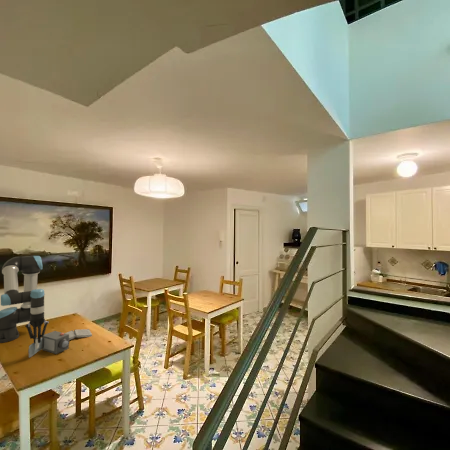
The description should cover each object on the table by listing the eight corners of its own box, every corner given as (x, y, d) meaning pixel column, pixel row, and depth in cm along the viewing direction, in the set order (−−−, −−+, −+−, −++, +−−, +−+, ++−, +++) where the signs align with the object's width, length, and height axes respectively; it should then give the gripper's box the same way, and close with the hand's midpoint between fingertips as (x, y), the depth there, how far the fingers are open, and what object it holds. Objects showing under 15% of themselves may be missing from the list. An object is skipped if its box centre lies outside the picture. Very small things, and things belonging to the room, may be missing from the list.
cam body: (41, 349, 176) (41, 334, 176) (54, 344, 184) (55, 329, 185) (58, 355, 168) (58, 338, 169) (71, 349, 177) (71, 333, 177)
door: (40, 348, 176) (41, 337, 176) (43, 348, 176) (43, 337, 176) (27, 357, 162) (28, 345, 163) (30, 357, 163) (30, 345, 163)
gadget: (58, 344, 186) (58, 339, 186) (56, 337, 198) (56, 333, 198) (92, 336, 200) (92, 332, 200) (89, 330, 211) (89, 326, 212)
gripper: (23, 315, 162) (23, 352, 161) (47, 312, 167) (47, 348, 166) (27, 312, 169) (27, 347, 168) (50, 309, 174) (49, 343, 173)
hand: (37, 347), depth 167 cm, fingers closed
